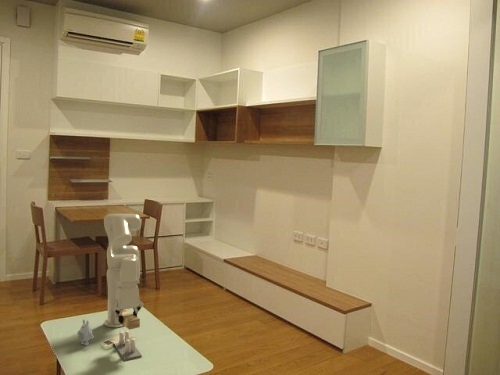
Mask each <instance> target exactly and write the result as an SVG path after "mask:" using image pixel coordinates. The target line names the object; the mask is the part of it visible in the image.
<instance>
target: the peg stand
mask: <svg viewBox="0 0 500 375" xmlns="http://www.w3.org/2000/svg"><path fill="white" fill-rule="evenodd" d="M118 338H119V339H118V341H119V343H118V344H116V345H115V346H114V348H115V349H116V350H117V352H118V354H119V355H120V356H121V358H122V360H123V361H124V362H125V361H131V360H134V359H139V358H142V357H143V356H142V354H141V352H140V351H139V349H138V348H137V347H136V338H131V339H130V330H125V331H119V336H118ZM124 340H125V342H124Z"/></svg>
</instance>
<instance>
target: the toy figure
mask: <svg viewBox="0 0 500 375" xmlns="http://www.w3.org/2000/svg"><path fill="white" fill-rule="evenodd" d="M89 324H90V322H89V320H85V319H82V325H81V328H80V329H79V330H78V331H77V333H76V334H77V335H78V339H79V340H80V341H81V343H80V345H84V346H88V345H89V344H90V343H89V342H90V340H91V339H92V340H93V339H94V335H93V331H92V328H91V326H90V325H89Z"/></svg>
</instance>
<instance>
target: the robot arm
mask: <svg viewBox="0 0 500 375" xmlns="http://www.w3.org/2000/svg"><path fill="white" fill-rule="evenodd" d="M103 224H104V225H103V226H104V230H105V233H106V236H107V239H108V247H107V249H106V259H107V260H106V262H107V268H108V269H107V271H106V280H107V281H106V282H107V318H106V319H105V320H104V326H106V327H108V328H121V327H124V326H123V325H122V323H123V316H122V312H123V311H125V310H126V311H127V310H129V309H133V311H132V314H133V315H134V316H136V317H138V313H139V312H140V311H141V309H142V308H143V307H144V306H145V303H144V302H143V301H142V300H140V291H139V287H138V286H139V284H140V283H141V282H140V279H141V262H140V250H139V248H138V246H136V245H132V244H131V245H129V244H130V243H131V242H132V239H133V237H132V232H131V231H139V230H140V229H141V227H142V220H141V217H140V215H139V214H136V213H109V214H106V215H105V216H104V219H103ZM116 313H117V314H118V321H119V322H120V323H119V322H117V321H116Z"/></svg>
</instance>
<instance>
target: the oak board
mask: <svg viewBox="0 0 500 375" xmlns="http://www.w3.org/2000/svg"><path fill="white" fill-rule="evenodd" d="M122 316H123V323H122V325H123V326H122V327H125V328H126V329H128V331H130V330H134V329H138V328H140V324H141V319H140V318H139V317H138V316H137V317H136V316H134V315H133V313H131V312H129V311H128V310H127V309H126V310H125V311H123V312H122ZM116 321H117V322H119V321H118V314H117V313H116ZM119 323H120V322H119Z"/></svg>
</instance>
